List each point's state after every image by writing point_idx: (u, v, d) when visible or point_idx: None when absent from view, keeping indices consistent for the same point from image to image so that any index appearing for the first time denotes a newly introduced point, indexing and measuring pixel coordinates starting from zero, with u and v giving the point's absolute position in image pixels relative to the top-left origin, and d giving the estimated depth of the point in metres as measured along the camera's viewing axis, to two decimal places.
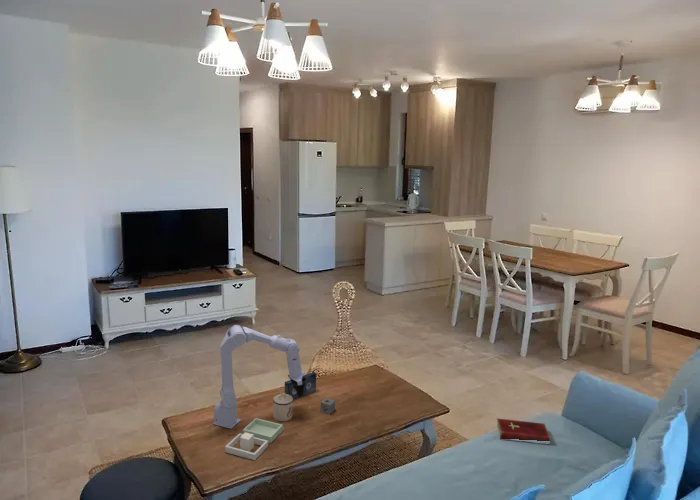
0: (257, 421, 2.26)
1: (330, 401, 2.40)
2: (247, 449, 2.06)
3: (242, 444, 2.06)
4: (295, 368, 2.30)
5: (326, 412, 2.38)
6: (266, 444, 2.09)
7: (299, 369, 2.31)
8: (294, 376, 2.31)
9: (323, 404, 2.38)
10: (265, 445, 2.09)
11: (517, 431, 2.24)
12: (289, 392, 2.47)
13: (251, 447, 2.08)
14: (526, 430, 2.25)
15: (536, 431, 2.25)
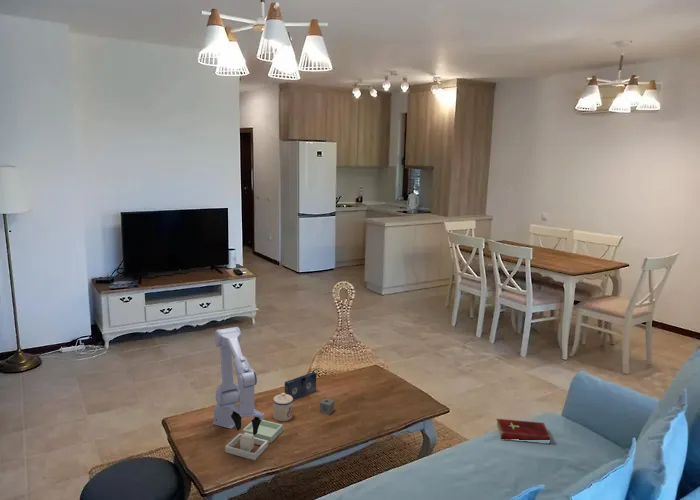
0: None
1: (329, 401, 2.40)
2: (247, 449, 2.06)
3: (242, 444, 2.06)
4: None
5: (325, 412, 2.38)
6: (266, 444, 2.09)
7: None
8: None
9: (322, 404, 2.38)
10: (265, 445, 2.09)
11: (517, 431, 2.24)
12: (289, 392, 2.47)
13: (251, 447, 2.08)
14: (526, 429, 2.26)
15: (536, 431, 2.25)
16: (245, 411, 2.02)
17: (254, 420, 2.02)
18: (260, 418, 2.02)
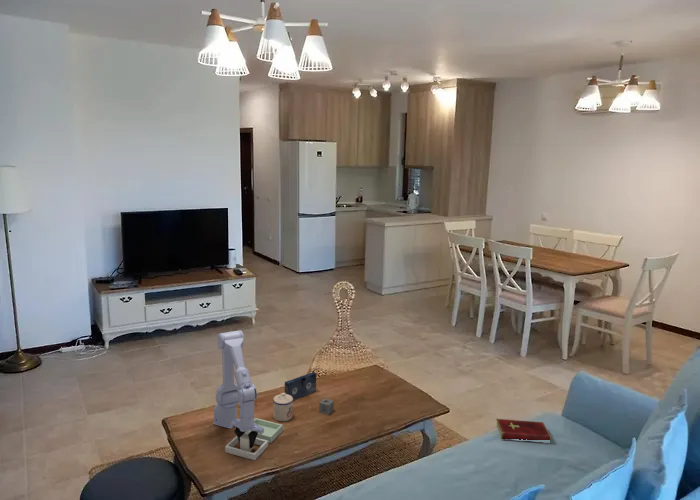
0: (257, 421, 2.26)
1: (329, 401, 2.40)
2: (247, 449, 2.06)
3: (242, 444, 2.06)
4: None
5: (325, 412, 2.38)
6: (266, 444, 2.09)
7: None
8: None
9: (322, 404, 2.38)
10: (265, 445, 2.09)
11: (517, 431, 2.24)
12: (289, 392, 2.47)
13: None
14: (526, 429, 2.26)
15: (536, 430, 2.25)
16: (245, 425, 2.03)
17: (254, 434, 2.03)
18: (260, 432, 2.03)
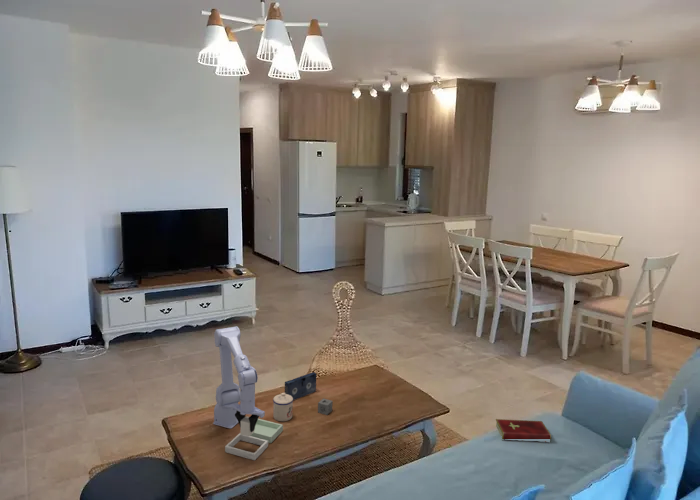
0: (257, 421, 2.26)
1: (327, 401, 2.40)
2: (248, 433, 2.05)
3: (243, 428, 2.05)
4: None
5: (323, 412, 2.38)
6: (266, 444, 2.09)
7: (240, 402, 2.04)
8: None
9: (320, 404, 2.38)
10: (265, 445, 2.09)
11: (518, 431, 2.24)
12: (289, 392, 2.47)
13: None
14: (526, 429, 2.26)
15: (536, 430, 2.26)
16: (246, 409, 2.02)
17: (255, 418, 2.02)
18: (261, 416, 2.02)
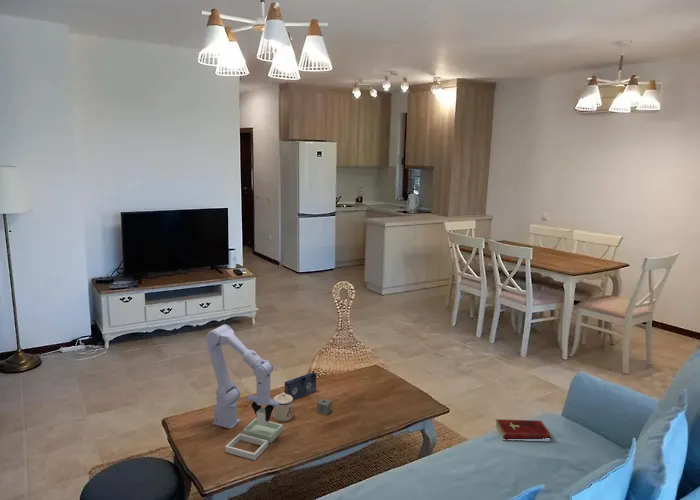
0: None
1: (327, 401, 2.40)
2: (263, 422, 2.16)
3: (259, 418, 2.17)
4: None
5: (323, 412, 2.38)
6: (266, 444, 2.09)
7: None
8: None
9: (320, 404, 2.38)
10: (265, 445, 2.09)
11: (518, 431, 2.24)
12: (289, 392, 2.47)
13: None
14: (526, 429, 2.26)
15: (536, 429, 2.26)
16: (262, 400, 2.14)
17: (270, 408, 2.14)
18: (276, 406, 2.14)
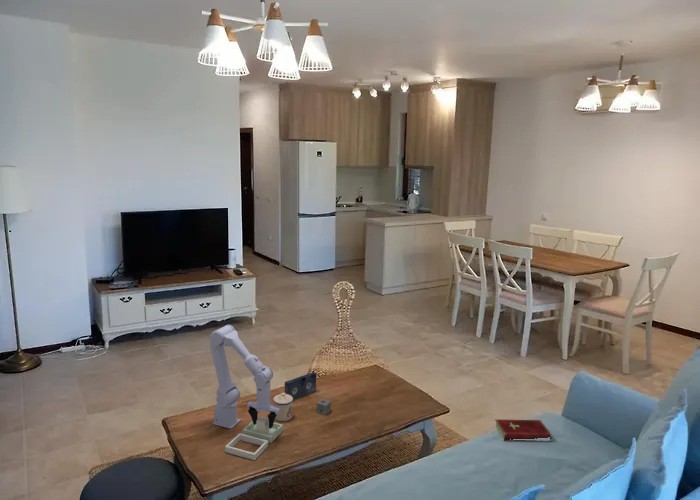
0: None
1: (326, 401, 2.39)
2: (263, 432, 2.17)
3: (259, 427, 2.18)
4: None
5: (322, 413, 2.38)
6: (266, 444, 2.09)
7: None
8: None
9: (319, 405, 2.38)
10: (265, 445, 2.09)
11: (518, 431, 2.24)
12: (289, 392, 2.47)
13: (267, 430, 2.19)
14: (526, 428, 2.26)
15: (536, 429, 2.26)
16: (262, 406, 2.15)
17: (270, 415, 2.15)
18: (276, 413, 2.15)
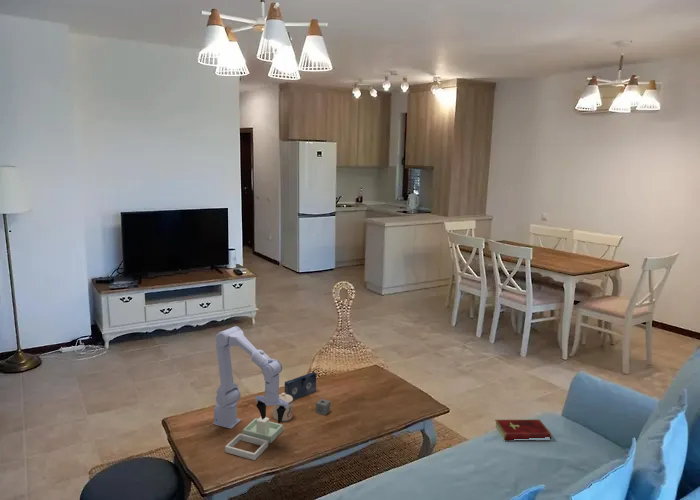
0: None
1: (325, 402, 2.39)
2: (263, 432, 2.17)
3: (259, 427, 2.18)
4: None
5: (321, 413, 2.38)
6: (266, 444, 2.09)
7: (265, 393, 2.10)
8: None
9: (318, 405, 2.38)
10: (265, 445, 2.09)
11: (519, 431, 2.24)
12: (289, 392, 2.47)
13: (267, 430, 2.19)
14: (526, 428, 2.27)
15: (536, 429, 2.27)
16: (270, 400, 2.08)
17: (279, 409, 2.08)
18: (285, 407, 2.08)
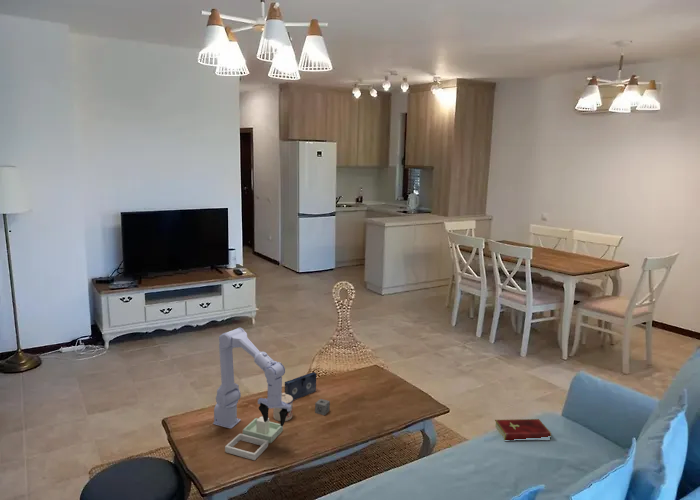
0: None
1: (325, 402, 2.39)
2: (263, 432, 2.17)
3: (259, 427, 2.18)
4: None
5: (321, 413, 2.37)
6: (266, 444, 2.09)
7: None
8: None
9: (318, 405, 2.37)
10: (265, 445, 2.09)
11: (519, 430, 2.24)
12: (289, 392, 2.47)
13: (267, 430, 2.19)
14: (526, 428, 2.27)
15: (535, 428, 2.27)
16: (273, 403, 2.06)
17: (282, 411, 2.06)
18: (288, 409, 2.06)
